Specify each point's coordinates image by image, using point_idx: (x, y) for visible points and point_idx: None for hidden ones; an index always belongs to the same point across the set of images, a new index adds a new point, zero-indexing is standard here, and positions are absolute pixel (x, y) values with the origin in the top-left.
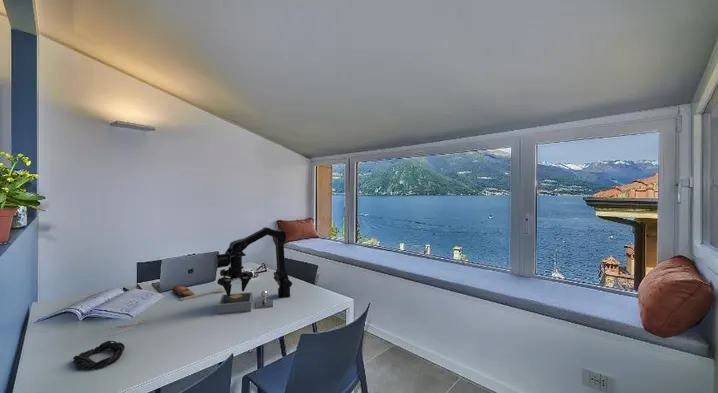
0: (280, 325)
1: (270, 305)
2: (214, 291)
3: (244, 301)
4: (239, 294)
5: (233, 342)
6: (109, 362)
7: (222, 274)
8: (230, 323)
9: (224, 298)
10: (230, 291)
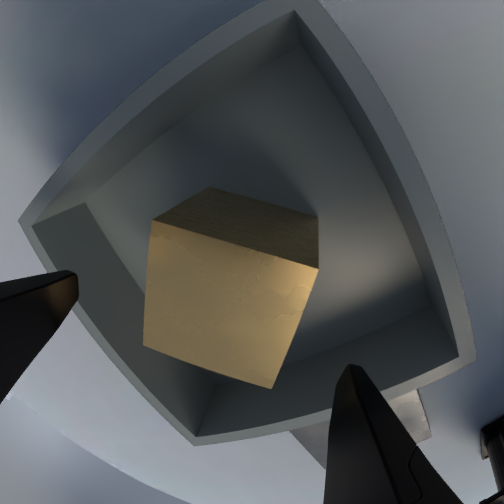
0: (155, 486)
1: (319, 462)
2: None
3: (405, 257)
4: (297, 324)
5: (17, 392)
6: None
7: None
8: (55, 342)
9: (304, 34)
10: (27, 364)
